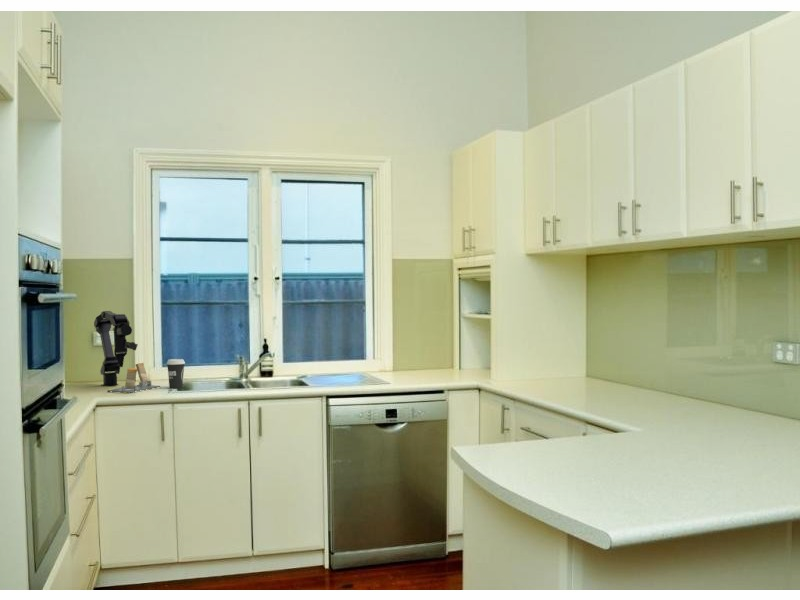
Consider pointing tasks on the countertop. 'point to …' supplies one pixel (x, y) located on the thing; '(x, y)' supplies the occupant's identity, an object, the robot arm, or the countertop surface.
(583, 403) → the countertop surface
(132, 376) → the lever
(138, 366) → the lever
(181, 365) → the coffee cup
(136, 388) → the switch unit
